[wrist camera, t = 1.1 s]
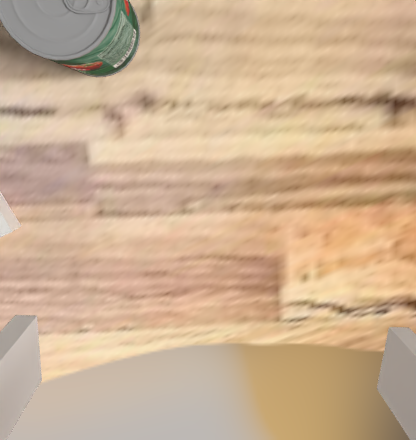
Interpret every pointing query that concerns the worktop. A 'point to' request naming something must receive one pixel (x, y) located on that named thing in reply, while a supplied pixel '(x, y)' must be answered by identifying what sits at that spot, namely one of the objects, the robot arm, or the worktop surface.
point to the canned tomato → (75, 32)
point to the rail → (7, 218)
